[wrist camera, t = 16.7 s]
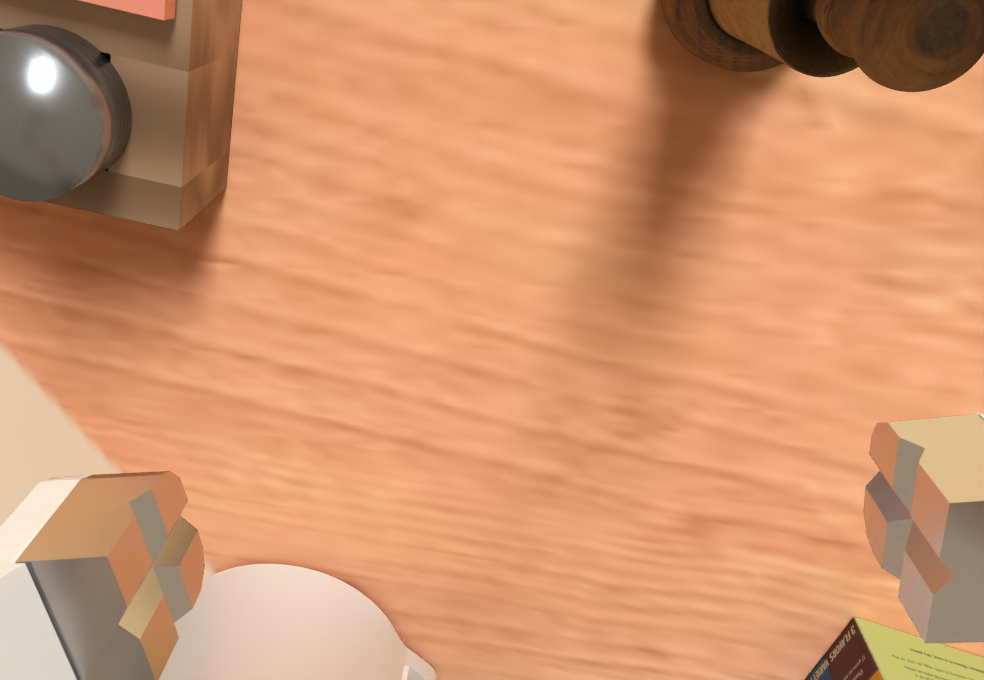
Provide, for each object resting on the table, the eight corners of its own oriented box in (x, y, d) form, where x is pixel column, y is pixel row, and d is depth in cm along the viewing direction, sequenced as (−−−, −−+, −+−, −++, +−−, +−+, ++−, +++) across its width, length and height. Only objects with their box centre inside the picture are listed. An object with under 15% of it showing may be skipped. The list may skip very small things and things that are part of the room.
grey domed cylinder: (134, 174, 37) (42, 232, 30) (23, 84, 36) (-102, 123, 28) (206, 80, 35) (127, 118, 28) (92, -19, 34) (-23, -6, 26)
